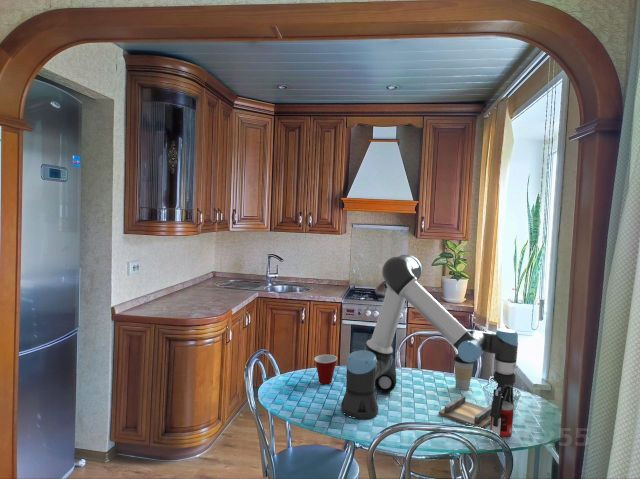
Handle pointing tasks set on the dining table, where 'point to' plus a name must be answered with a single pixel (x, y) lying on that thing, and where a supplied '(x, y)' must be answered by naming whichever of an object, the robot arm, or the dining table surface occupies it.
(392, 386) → the portable speaker
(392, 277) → the robot arm
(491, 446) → the dining table surface
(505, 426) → the canned food
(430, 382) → the dining table surface
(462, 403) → the dock board
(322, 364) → the plastic cup
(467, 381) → the coffee cup
